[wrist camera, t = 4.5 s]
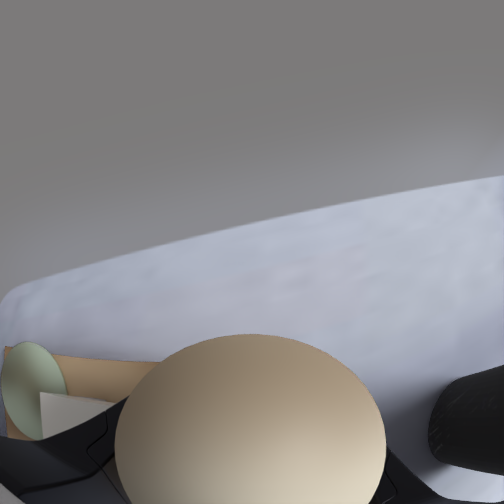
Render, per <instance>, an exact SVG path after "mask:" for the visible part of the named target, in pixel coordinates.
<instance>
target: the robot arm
mask: <svg viewBox="0 0 504 504" xmlns="http://www.w3.org/2000/svg"><path fill="white" fill-rule="evenodd" d="M129 396H130V395H129ZM129 396H127V397H126V398H124V399H123V400H121V401H119V402H118V403H116V404H115V405H113V406H111V407H110V408H108V409H106V411H103V412H101V413H100V414H98V415H96V416H95V417H93V418H91V419H89V420H87V421H85V422H83V423H81V424H79V425H77V426H75V427H73V428H70V429H68V430H65V431H63V432H60V433H58V434H55V435H53V436H50V437H48V438H45V439H41V440H35V441H28V440H21V439H14V438H8V437H3V436H0V504H132V503H131V501H130V499H129V497H128V495H127V494H126V492H125V490H124V488H123V485H122V482H121V480H120V477H119V474H118V470H117V465H116V460H115V435H116V429H117V424H118V420H119V416H120V414H121V412H122V409H123V407H124V405H125V402H126V401H127V399H128V397H129ZM368 504H504V501H501V502H496V503H485V502H470V501H460V500H452V499H447V498H444V497H442V496H440V495H438V494H437V493H436V492H434V491H433V490H432V489H431V488H429V487H428V486H427V485H426V484H425V483H424V482H422V481H421V480H420V479H419V478H418V477H417V476H415V475H414V474H413V473H412V472H411V471H410V470H409V469H408V468H407V467H406V466H405V465H404V464H403V463H402V462H401V461H400V460H399V459H398V458H397V457H396V456H395V454H394V453H393V452H391V450H390V449H389V448H388V447H387V445H386V457H385V463H384V469H383V473H382V476H381V479H380V482H379V485H378V487H377V489H376V491H375V493H374V495H373V497H372V499H371V500H370V502H369V503H368Z"/></svg>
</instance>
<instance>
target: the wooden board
mask: <svg viewBox="0 0 504 504" xmlns="http://www.w3.org/2000/svg"><path fill="white" fill-rule="evenodd" d="M159 363H160V362H133V361H114V360H100V359H88V358H78V357H69V356H61V355H54V354H50V353H49V352H48V351H47V350H46V349H45V348H43V347H42V346H40V345H38V344H35V343H31V342H23V343H20V344H18V345H16V346H15V347H14V348H12V347H7V346H5V355H4V364H3V367H2V372H1V392H2V397H3V401H4V404H5V416H6V426H7V435H8V438H14V439H21V440H28V441H35V440H41V439H43V431H42V420H41V406H40V392H45V393H55V394H63V395H68V396H73V397H74V396H83V397H92V398H99V399H105V400H106V402H112V403H118V402H119V401H121V400H123V399H124V398H126V397H127V396H129V395H130V394H131V392H132V391H133V389H134V388H135V387H136V385H137V384H138V383H139V382H140V381H141V379H142V378H143V377H144V376H145V375H146V374H147V373H148V372H149V371H151V370H152V369H153V368H154V367H155V366H156V365H157V364H159Z"/></svg>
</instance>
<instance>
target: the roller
mask: <svg viewBox="0 0 504 504" xmlns="http://www.w3.org/2000/svg"><path fill="white" fill-rule="evenodd" d="M385 457H386V437H385V430H384V424H383V421H382V418H381V414H380V411H379V409H378V407H377V405H376V403H375V401H374V399H373V397H372V395H371V394H370V392H369V391H368V389H367V388H366V386H365V385H364V384H363V383H362V382H361V381H360V379H359V378H358V377H357V376H356V375H355V374H354V373H353V372H352V371H351V370H350V369H348V368H347V367H346V366H345V365H344V364H342V363H341V362H340V361H338V360H337V359H335V358H333V357H332V356H330V355H329V354H327V353H325V352H323V351H321V350H319V349H317V348H315V347H313V346H311V345H308V344H305V343H302V342H299V341H296V340H292V339H287V338H283V337H278V336H270V335H260V334H241V335H232V336H224V337H218V338H214V339H210V340H206V341H202V342H199V343H197V344H194V345H191V346H189V347H186V348H184V349H182V350H180V351H178V352H176V353H174V354H172V355H170V356H169V357H168V358H166V359H165V360H163V361H162V362H160V363H159V364H157V365H156V366H155V367H154V368H153V369H152V370H151V371H149V372H148V373H147V374H146V375H145V376H144V377H143V378H142V379H141V381H140V382H139V383H138V384H137V385H136V387H135V388H134V389H133V391H132V392H131V394H130V396H129V397H128V399H127V401H126V402H125V405H124V407H123V409H122V412H121V414H120V416H119V420H118V424H117V429H116V435H115V460H116V465H117V470H118V474H119V477H120V480H121V482H122V485H123V488H124V490H125V492H126V494H127V495H128V497H129V499H130V501H131V503H132V504H368V503H369V502H370V500H371V499H372V497H373V495H374V493H375V491H376V489H377V487H378V485H379V482H380V479H381V476H382V473H383V469H384V463H385Z"/></svg>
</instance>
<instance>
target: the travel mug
mask: <svg viewBox="0 0 504 504" xmlns="http://www.w3.org/2000/svg"><path fill="white" fill-rule="evenodd" d="M428 437H429V445H430V449H431V451H432V453H433V455H434V456H435V457H436V458H437V459H438V460H440V461H442V462H444V463H447V464H450V465H454V466H458V467H462V468H466V469H471V470H475V471H480V472H485V473H491V474H497V475H503V476H504V365H502V366H499V367H495V368H492V369H489V370H486V371H482V372H479V373H475V374H472V375H468V376H465V377H462V378H460V379H458V380H456V381H454V382H453V383H452V384H451V385H449V386H448V387H447V388H446V390H445V391H444V392H443V393H442V395H441V396H440V398H439V400H438V401H437V403H436V405H435V408H434V410H433V413H432V416H431V420H430V424H429V434H428Z"/></svg>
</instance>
